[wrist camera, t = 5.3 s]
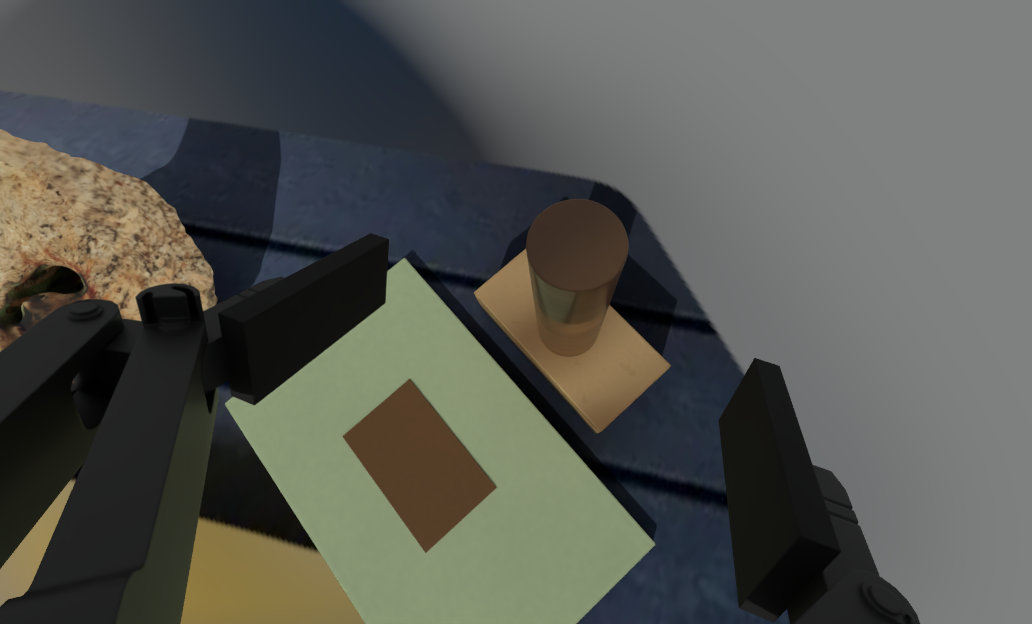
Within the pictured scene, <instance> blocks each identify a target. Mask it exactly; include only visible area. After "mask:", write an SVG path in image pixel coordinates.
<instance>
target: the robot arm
mask: <svg viewBox="0 0 1032 624" xmlns="http://www.w3.org/2000/svg"><path fill="white" fill-rule="evenodd" d="M388 248H389V239H386V238H383V237H380V236H377V235H374V234H371V233H370V234H369V235H367V236H365V237H363V238H361V239H359V240H357V241H355V242H353V243H351V244H349V245H347V246H345V247H344V248H342V249H340V250H338V251H336V252H334V253H332V254H330V255H328V256H326V257H324V258H322V259H321V260H319V261H317V262H315V263H313V264H311V265H309V266H307V267H305V268H303V269H301V270H299V271H297V272H296V273H294V274H292V275H290V276H288V277H286V278H283V277H278V278H274V279H270V280H266V281H262V282H260V283H258V284H256V285H254V286H252V287H250V288H249V290H247V289H246V290H244V291H242V292H240V293H238V295H237V296H236V295H234V296H232V297H231V298H229V299H227V300H225V301H223V302H221V303H219V304H217V305H215V306H213V307H211V308H209V309H207V310H205V311H203V308H202V302H201V297H200V292H199V290H198V289H197V288H195V287H194V286H190V285H187V284H178V283H171V284H161V285H157V286H153V287H149V288H147V289H145V290H143V291H141V292H140V293H139V294H138V295H137V296H136V297H135V298H136V302H137V306H138V309H139V313H140V317H141V320H142V321H138V320H130V319H122V317H121V314H120V310H119V307H118V304H116V303H114V302H112V301H109V300H103V299H84V300H78V301H74V302H72V303H69V304H66V305H63V306H61V307H59V308H57V309H56V310H54V311H53V312H51V313H50V314H49V315H47V316H46V317H45V318H43V319H42V320H41V321H40V322H38V323H37V324H36V325H34V326H33V327H32V328H30V329H29V330H28V331H27V332H25V333H24V334H23V335H21V336H20V337H19V338H17V339H16V340H15V341H14V342H12V343H11V344H10V345H8V346H7V347H6V348H4V349H3V350H2V351H1V352H0V569H1V567H2V566H3V565H4V563H5V562H6V560H8V558H9V557H10V556H11V555H12V553H13V552H14V551H15V549H16V548H17V547H18V546H19V544H20V543H21V542H22V540H23V539H24V538H25V537H26V535H27V534H28V533H29V532H30V530H31V529H32V528H33V527H34V525H35V524H36V523H37V522H38V520H39V519H40V518H41V517H42V515H43V514H44V513H45V511H46V510H47V509H48V508H49V506H50V505H51V504H52V502H53V501H54V500H55V499H56V497H57V496H58V495H59V494H60V492H61V491H62V490H63V489H64V487H65V486H66V485H67V484H68V482H69V481H70V480H71V478H72V477H73V476H74V475H75V473H76V472H77V471H78V470H79V468H80V467H81V466H82V464H83V466H82V468H81V470H80V473H79V475H78V477H77V480H76V482H75V484H74V487H73V490H72V491H71V494H70V496H69V498H68V501H67V503H66V505H65V508H64V510H63V512H62V515H61V517H60V519H59V522H58V524H57V526H56V529H55V531H54V533H53V536H52V538H51V540H50V542H49V545H48V547H47V549H46V552H45V554H44V557H43V559H42V561H41V564H40V566H39V568H38V570H37V573H36V575H35V577H34V580H33V582H32V584H31V586H30V588H29V589H28V591H27V592H26V593H25V594H24V595H23V596H21V597H16V598H13V599H8V600H7V601H6V602H5V603H4V604H3V605H2V606H1V607H0V624H180V622H181V617H182V611H183V605H184V599H185V593H186V587H187V581H188V576H189V570H190V564H191V558H192V552H193V545H194V540H195V535H196V528H197V523H198V517H199V511H200V505H201V500H202V494H203V488H204V482H205V476H206V470H207V464H208V459H209V453H210V447H211V441H212V435H213V429H214V423H215V418H216V412H217V406H218V400H219V394H218V389H217V387H219V386H220V385H222V384H223V383H225V382H226V381H228V380H229V383H230V389H231V395H232V396H233V397H235V398H237V399H240V400H242V401H245V402H247V403H249V404H252V405H254V406H255V405H256V404H257V403H259V402H260V401H261V400H263V399H264V398H265V397H266V396H268V395H269V394H270V393H271V392H273V391H274V390H275V389H277V388H278V387H279V386H280V385H282V384H283V383H284V382H286V381H287V380H288V379H289V378H291V377H292V376H293V375H294V374H296V373H297V372H298V371H300V370H301V369H302V368H303V367H305V366H306V365H307V364H309V363H310V362H311V361H312V360H314V359H315V358H316V357H317V356H319V355H320V354H321V353H323V352H324V351H325V350H326V349H328V348H329V347H330V346H332V345H333V344H334V343H335V342H337V341H338V340H339V339H340V338H342V337H343V336H344V335H346V334H347V333H348V332H349V331H351V330H352V329H353V328H355V327H356V326H357V325H358V324H360V323H361V322H362V321H363V320H365V319H366V318H367V317H369V316H370V315H371V314H372V313H374V312H375V311H376V310H378V309H379V308H380V307H381V306H383V305H384V304H385V303H386V285H387V266H388ZM73 381H74V382H73ZM72 382H73V383H72ZM719 427H720V436H721V446H722V455H723V464H724V474H725V483H726V492H727V502H728V511H729V520H730V530H731V539H732V548H733V557H734V567H735V576H736V585H737V595H738V604H739V608H740V609H742V610H745V611H747V612H750V613H752V614H754V615H757V616H759V617H762V618H764V619H766V620H769V621H771V622H775V621H776V620H777V619H778V618H779V617H780V615H781V614H782V613H783V612H784V611H785V610H786V609H787V610H788V615H789V620H790V624H920V623H919V620H918V617H917V614H916V613H915V611H914V609H913V608H912V606H911V605H910V603H909V602H908V601H907V599H906V598H905V597H904V596H903V595H902V594H901V593H900V592H899V591H898V590H897V589H896V588H895V587H893V586H892V585H891V584H890V583H888V582H887V581H885V580H884V579H883V578H881V577H880V576H879V573H878V571H877V568H876V566H875V563H874V561H873V558H872V556H871V553H870V550H869V548H868V545H867V543H866V540H865V538H864V535H863V533H862V530H861V528H860V526H859V525H858V520H857V518H856V515H855V512H854V511H853V510H852V505H851V502H850V500H849V497H848V494H847V492H846V490H845V488H844V487H843V486H842V485H841V483H840V482H839V481H838V479H837V478H836V477H835V476H834V474H833V473H832V472H831V471H829V470H826V469H823V468H820V467H817V466H814V465H812V462H811V459H810V456H809V453H808V450H807V447H806V444H805V441H804V438H803V435H802V432H801V429H800V426H799V423H798V420H797V417H796V414H795V411H794V408H793V405H792V402H791V399H790V396H789V393H788V390H787V387H786V384H785V381H784V378H783V375H782V372H781V369H780V366H777V365H775V364H771V363H769V362H765V361H762V360H759V359H756V358H754V360H753V362H752V363H751V365H750V367H749V369H748V370H747V372H746V374H745V376H744V377H743V379H742V381H741V383H740V384H739V386H738V388H737V390H736V391H735V393H734V395H733V397H732V398H731V400H730V402H729V403H728V405H727V407H726V409H725V410H724V412H723V414H722V416H721V417H720V419H719Z"/></svg>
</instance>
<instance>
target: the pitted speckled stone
mask: <svg viewBox="0 0 1032 624" xmlns="http://www.w3.org/2000/svg"><path fill="white" fill-rule="evenodd" d="M171 283H178V284H187V285H190V286H194V287H195V288H197V289H198V290H199V292H200V297H201V302H202V308H203V311H205V310H207V309H209V308H211V307H213V306H215V305H216V303H217V300H218V299H217V297H216V295H215V286H214V282H213V270H212V268H211V266H210V265H209V263H207V261H206V260H205V259H204V256H203V254H202V253H201V252H200V250H199V249H198V248H197V246H196V245H195V244H194V242H193V240H192V238H191V236H189V235H188V234H187V233H186V232H185V228H184V227H183V225H182V224H181V222H180V220H179V218H178V216H177V213H176V210H175V208H174V207H172V206H170V205H169V204H167V203H166V202H165V200H164V199H163V198H162V197H161V196H160V195H159V194H158V193H157V192H156V191H155V190H154V189H153V188H152V187H151V186H150V185H149V184H148V183H146V182H145V181H143V180H140V179H138V178H135V177H133V176H129V175H124V174H122V173H119V172H115V171H113V170H110V169H108V168H106V167H104V166H102V165H100V164H98V163H95V162H92V161H89V160H87V159H85V158H77V157H70V155H68V154H65V153H62V152H58V151H56V150H54V149H52V148H50V147H49V146H48V145H47V144H46V143H39V142H31V141H27V140H24V139H21V138H18V137H13V136H12V135H10V134H9V133H7V132H6V131H4V130H1V129H0V352H1V351H2V350H3V349H4V348H6V347H7V346H8V345H10V344H11V343H12V342H14V341H15V340H16V339H17V338H19V337H20V336H21V335H23V334H24V333H25V332H27V331H28V330H29V329H30V328H32V327H33V326H34V325H36V324H37V323H38V322H40V321H41V320H42V319H43V318H45V317H46V316H47V315H49V314H50V313H51V312H53V311H54V310H56V309H57V308H59V307H61V306H63V305H66V304H69V303H72V302H74V301H78V300H84V299H103V300H109V301H112V302H114V303H116V304H118V307H119V310H120V314H121V317H122V319H130V320H138V321H142V320H141V317H140V313H139V309H138V306H137V302H136V298H135V297H136V296H137V295H138V294H139V293H140V292H141V291H143V290H145V289H147V288H149V287H153V286H157V285H161V284H171ZM73 382H74V381H73ZM73 382H72V383H73Z"/></svg>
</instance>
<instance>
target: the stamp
mask: <svg viewBox="0 0 1032 624" xmlns="http://www.w3.org/2000/svg"><path fill="white" fill-rule="evenodd" d="M627 255H628V237H627V233H626V230H625V228H624V226H623V224H622V222H621V221H620V220H619V218H618V217H617V216H616V215H615V214H614V213H613V212H612V211H611V210H609V209H608V208H607V207H605V206H603V205H601V204H599V203H597V202H594V201H590V200H585V199H570V200H565V201H561V202H558V203H556V204H553V205H552V206H550V207H548V208H547V209H545V210H544V211H543V212H542V213H541V214H539V215H538V217H537V218H536V219H535V220H534V222H533V223H532V225H531V227H530V229H529V231H528V235H527V240H526V249H525V250H523V251H522V252H521V253H520V254H519V255H518V256H516V257H515V258H514V259H513V260H512V261H510V262H509V263H508V264H507V265H506V266H505V267H503V268H502V269H501V270H500V271H499V272H497V273H496V274H495V275H494V276H493V277H492V278H490V279H489V280H488V281H487V282H486V283H484V284H483V285H482V286H481V287H480V288H479V289H477V290H476V291H475V292H474V294H475V296H476V298H477V300H478V302H479V304H480V306H481V308H482V309H483V311H484V312H485V313H486V314H487V316H488V317H489V318H490V319H491V320H492V321H493V322H494V323H495V324H496V326H497V327H498V328H499V329H500V330H501V331H502V332H503V333H504V334H505V335H506V337H507V338H508V339H509V340H510V341H511V342H512V343H513V344H514V345H515V347H516V348H517V349H518V350H519V351H520V352H521V353H522V354H523V355H524V357H525V358H526V359H527V360H528V361H529V362H530V363H531V364H532V365H533V366H534V368H535V369H536V370H537V371H538V372H539V373H540V374H541V375H542V376H543V378H544V379H545V380H546V381H547V382H548V383H549V384H550V385H551V386H552V388H553V389H554V390H555V391H556V392H557V393H558V394H559V395H560V396H561V397H562V399H563V400H564V401H565V402H566V403H567V404H568V405H569V406H570V407H571V409H572V410H573V411H574V412H575V413H576V414H577V415H578V416H579V417H580V419H581V420H582V421H583V422H584V423H585V424H586V425H587V426H588V427H589V429H590V430H591V431H592V432H593V433H594V434H596V433H599V432H601V431H603V430H604V429H605V428H606V427H607V426H608V425H609V424H610V423H611V422H612V421H613V420H614V419H615V418H616V417H617V416H619V415H620V414H621V413H622V412H623V411H624V410H625V409H626V408H627V407H628V406H629V405H630V404H631V403H632V402H633V401H635V400H636V399H637V398H638V397H639V396H640V395H641V394H642V393H643V392H644V391H645V390H646V389H647V388H648V387H649V386H651V385H652V384H653V383H654V382H655V381H656V380H657V379H658V378H659V377H660V376H661V375H662V374H663V373H664V372H665V371H666V370H668V369H669V368H670V366H671V365H670V364H669V363H668V362H667V361H666V360H665V359H664V358H663V357H662V356H661V355H660V354H659V353H658V352H657V351H656V350H655V349H654V348H653V347H652V346H651V345H650V344H649V343H648V342H647V341H646V340H645V339H644V338H643V337H642V336H641V335H640V334H639V333H638V332H637V331H636V330H635V329H634V328H633V327H632V326H631V325H630V324H629V323H628V322H627V321H626V320H625V319H623V318H622V317H621V316H620V315H619V314H618V313H617V312H616V311H615V310H614V309H613V308H612V307H611V306H610V305H609V304H610V302H611V299H612V296H613V294H614V291H615V288H616V286H617V283H618V280H619V278H620V275H621V272H622V269H623V267H624V264H625V261H626V259H627Z"/></svg>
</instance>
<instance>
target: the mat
mask: <svg viewBox="0 0 1032 624" xmlns="http://www.w3.org/2000/svg"><path fill="white" fill-rule="evenodd" d="M225 405H226V407H227V408H228V410H229V412H230V413H231V415H232V416H233V418H234V419H235V421H236V423H237V424H238V426H239V427H240V429H241V430H242V432H243V433H244V435H245V437H246V438H247V440H248V441H249V443H250V444H251V446H252V447H253V449H254V451H255V452H256V454H257V455H258V457H259V458H260V460H261V461H262V463H263V465H264V466H265V468H266V469H267V471H268V472H269V474H270V475H271V477H272V479H273V480H274V482H275V483H276V485H277V486H278V488H279V490H280V491H281V493H282V494H283V496H284V497H285V499H286V500H287V502H288V504H289V505H290V507H291V508H292V510H293V511H294V513H295V514H296V516H297V518H298V519H299V521H300V522H301V524H302V525H303V527H304V528H305V530H306V532H307V533H308V535H309V536H310V538H311V539H312V541H313V542H314V544H315V546H316V547H317V549H318V550H319V552H320V553H321V555H322V557H323V558H324V560H325V561H326V563H327V564H328V566H329V567H330V569H331V571H332V572H333V574H334V575H335V577H336V578H337V580H338V581H339V583H340V584H341V586H342V588H343V589H344V591H345V592H346V594H347V595H348V597H349V599H350V600H351V602H352V603H353V605H354V606H355V608H356V609H357V611H358V613H359V614H360V616H361V617H362V619H363V620H364V622H365V624H576V623H577V622H578V621H579V620H580V619H581V618H582V617H583V616H584V615H585V614H586V613H587V612H588V611H589V610H590V609H591V608H592V607H593V606H594V605H595V604H596V603H597V602H598V601H599V600H600V599H601V598H602V597H603V596H604V595H605V594H606V593H607V592H608V591H609V590H610V589H611V588H612V587H613V586H614V585H615V584H616V583H617V582H618V581H619V580H620V579H621V578H622V577H623V576H624V575H625V574H626V573H627V572H628V571H629V570H630V569H631V568H632V567H633V566H634V565H635V564H636V563H637V562H638V561H639V560H640V559H641V558H642V557H643V556H644V555H645V554H646V553H647V552H648V551H649V550H650V549H651V548H652V547H653V546H654V545H655V543H654V541H653V540H652V539H651V538H650V537H649V536H648V535H647V533H646V532H645V531H644V530H643V529H642V528H641V527H640V525H639V524H638V523H637V522H636V521H635V520H634V519H633V517H632V516H631V515H630V514H629V513H628V512H627V511H626V509H625V508H624V507H623V506H622V505H621V504H620V503H619V501H618V500H617V499H616V498H615V497H614V496H613V495H612V493H611V492H610V491H609V490H608V489H607V488H606V487H605V485H604V484H603V483H602V482H601V481H600V480H599V479H598V478H597V476H596V475H595V474H594V473H593V472H592V471H591V470H590V468H589V467H588V466H587V465H586V464H585V463H584V462H583V460H582V459H581V458H580V457H579V456H578V455H577V454H576V452H575V451H574V450H573V449H572V448H571V447H570V446H569V444H568V443H567V442H566V441H565V440H564V439H563V438H562V436H561V435H560V434H559V433H558V432H557V431H556V430H555V428H554V427H553V426H552V425H551V424H550V423H549V422H548V420H547V419H546V418H545V417H544V416H543V415H542V414H541V412H540V411H539V410H538V409H537V408H536V407H535V406H534V405H533V403H532V402H531V401H530V400H529V399H528V398H527V397H526V395H525V394H524V393H523V392H522V391H521V390H520V389H519V387H518V386H517V385H516V384H515V383H514V382H513V381H512V379H511V378H510V377H509V376H508V375H507V374H506V373H505V371H504V370H503V369H502V368H501V367H500V366H499V365H498V363H497V362H496V361H495V360H494V359H493V358H492V357H491V355H490V354H489V353H488V352H487V351H486V350H485V349H484V347H483V346H482V345H481V344H480V343H479V342H478V341H477V340H476V338H475V337H474V336H473V335H472V334H471V333H470V332H469V330H468V329H467V328H466V327H465V326H464V325H463V324H462V322H461V321H460V320H459V319H458V318H457V317H456V316H455V314H454V313H453V312H452V311H451V310H450V309H449V308H448V306H447V305H446V304H445V303H444V302H443V301H442V300H441V298H440V297H439V296H438V295H437V294H436V293H435V292H434V290H433V289H432V288H431V287H430V286H429V285H428V284H427V282H426V281H425V280H424V279H423V278H422V277H421V276H420V275H419V273H418V272H417V271H416V270H415V269H414V268H413V267H412V265H411V264H410V263H409V262H408V261H407V260H406V259H405V258H403V259H402V260H401V261H400V262H398V263H397V264H396V265H395V266H393V267H392V268H391V269H390V270H389V271H387V285H386V303H385V304H384V305H383V306H381V307H380V308H379V309H378V310H376V311H375V312H374V313H372V314H371V315H370V316H369V317H367V318H366V319H365V320H363V321H362V322H361V323H360V324H358V325H357V326H356V327H355V328H353V329H352V330H351V331H349V332H348V333H347V334H346V335H344V336H343V337H342V338H340V339H339V340H338V341H337V342H335V343H334V344H333V345H332V346H330V347H329V348H328V349H326V350H325V351H324V352H323V353H321V354H320V355H319V356H317V357H316V358H315V359H314V360H312V361H311V362H310V363H309V364H307V365H306V366H305V367H303V368H302V369H301V370H300V371H298V372H297V373H296V374H294V375H293V376H292V377H291V378H289V379H288V380H287V381H286V382H284V383H283V384H282V385H280V386H279V387H278V388H277V389H275V390H274V391H273V392H271V393H270V394H269V395H268V396H266V397H265V398H264V399H263V400H261V401H260V402H259V403H257V404H256V405H255V406H254V405H252V404H249V403H247V402H245V401H242V400H240V399H237V398H235V397H232V398H231V399H230V400H228V401H227V402H226V403H225Z"/></svg>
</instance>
